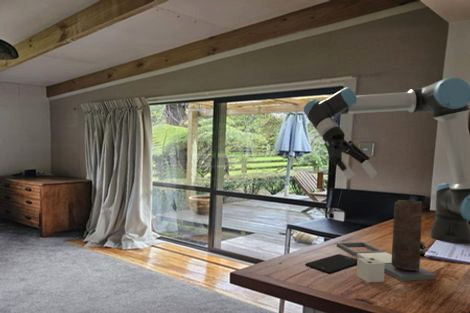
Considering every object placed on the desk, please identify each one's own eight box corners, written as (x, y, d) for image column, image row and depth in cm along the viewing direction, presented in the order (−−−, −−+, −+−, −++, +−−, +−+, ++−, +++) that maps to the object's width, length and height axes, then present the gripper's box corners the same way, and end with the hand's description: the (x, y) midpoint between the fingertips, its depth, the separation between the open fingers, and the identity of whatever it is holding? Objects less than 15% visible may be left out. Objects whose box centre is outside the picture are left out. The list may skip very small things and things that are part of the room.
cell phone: (363, 263, 109) (363, 260, 109) (329, 275, 98) (329, 272, 98) (338, 256, 116) (338, 253, 116) (304, 266, 105) (304, 263, 105)
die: (372, 275, 99) (373, 257, 99) (383, 281, 94) (384, 263, 94) (356, 276, 97) (357, 257, 97) (367, 282, 93) (368, 263, 92)
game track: (363, 245, 130) (363, 242, 130) (435, 278, 97) (435, 274, 97) (336, 246, 128) (336, 242, 127) (401, 281, 94) (401, 276, 94)
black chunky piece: (395, 252, 124) (395, 239, 124) (401, 248, 129) (402, 236, 129) (434, 261, 115) (435, 247, 115) (439, 256, 121) (440, 243, 121)
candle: (413, 276, 95) (416, 203, 95) (386, 268, 101) (389, 199, 100) (423, 270, 100) (426, 201, 100) (397, 263, 106) (400, 197, 105)
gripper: (344, 140, 141) (376, 182, 130) (302, 138, 126) (333, 184, 115) (356, 127, 137) (390, 169, 126) (314, 123, 122) (348, 170, 111)
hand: (363, 176), depth 120 cm, fingers open, 13 cm apart
